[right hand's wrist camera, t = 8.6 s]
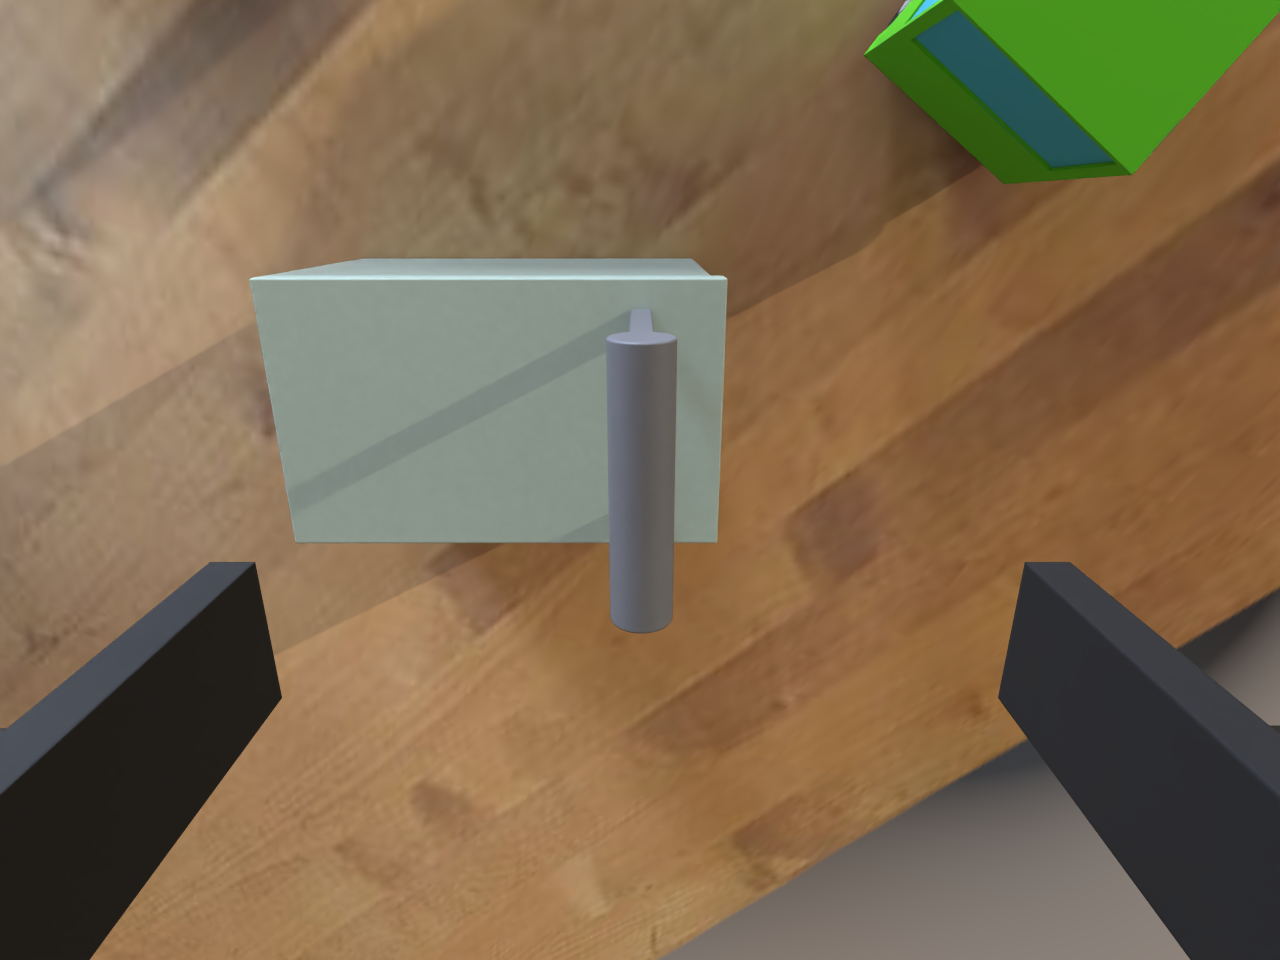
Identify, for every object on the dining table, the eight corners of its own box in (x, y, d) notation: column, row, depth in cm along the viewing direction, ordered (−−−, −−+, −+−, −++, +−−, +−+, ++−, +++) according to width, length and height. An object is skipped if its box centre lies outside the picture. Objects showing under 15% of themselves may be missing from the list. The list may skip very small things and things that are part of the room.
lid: (724, 275, 25) (765, 306, 17) (714, 531, 28) (744, 660, 20) (263, 275, 25) (85, 306, 17) (307, 532, 28) (174, 661, 20)
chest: (692, 258, 34) (711, 275, 25) (687, 455, 37) (703, 531, 29) (361, 258, 34) (264, 275, 25) (386, 455, 37) (307, 531, 29)
